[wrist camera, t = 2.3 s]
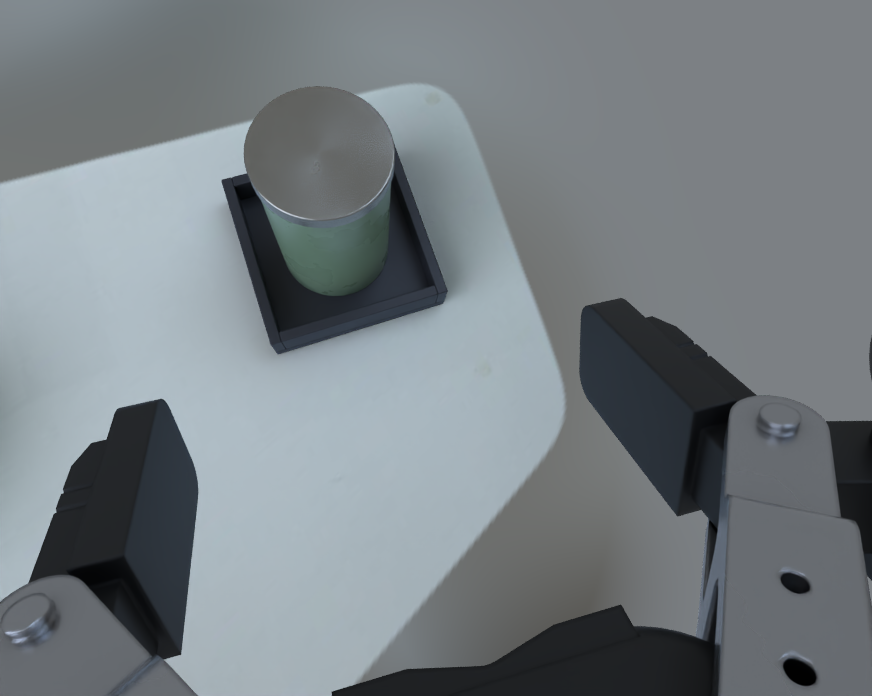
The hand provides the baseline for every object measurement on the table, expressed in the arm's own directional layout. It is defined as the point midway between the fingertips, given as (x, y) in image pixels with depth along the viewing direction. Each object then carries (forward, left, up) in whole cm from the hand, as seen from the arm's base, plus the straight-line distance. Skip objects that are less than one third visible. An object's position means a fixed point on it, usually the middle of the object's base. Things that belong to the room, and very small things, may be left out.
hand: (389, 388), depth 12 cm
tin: (+7, -8, -18) cm, 20 cm away
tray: (+7, -8, -18) cm, 21 cm away
